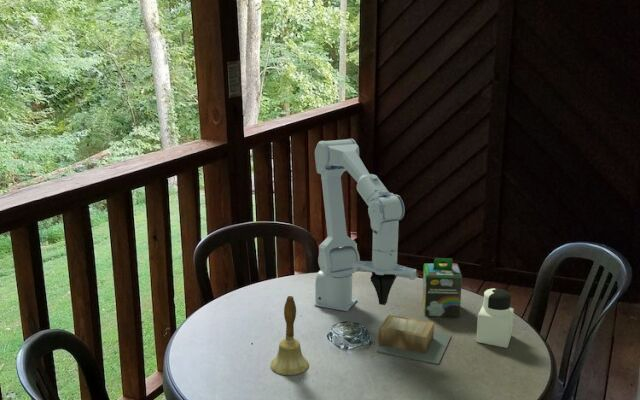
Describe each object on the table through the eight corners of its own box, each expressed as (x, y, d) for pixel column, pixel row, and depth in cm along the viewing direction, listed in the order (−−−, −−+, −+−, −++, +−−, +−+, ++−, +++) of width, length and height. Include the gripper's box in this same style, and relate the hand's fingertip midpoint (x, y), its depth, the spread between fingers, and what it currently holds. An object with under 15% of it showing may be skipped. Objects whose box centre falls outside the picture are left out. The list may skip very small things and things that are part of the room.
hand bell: (301, 353, 132) (301, 287, 128) (314, 371, 125) (314, 301, 121) (266, 359, 129) (264, 292, 126) (276, 378, 122) (275, 307, 118)
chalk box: (456, 303, 159) (459, 251, 155) (460, 318, 150) (464, 263, 146) (421, 302, 159) (423, 250, 156) (423, 316, 151) (426, 262, 147)
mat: (376, 352, 133) (376, 350, 133) (394, 326, 145) (394, 325, 145) (438, 364, 127) (438, 363, 127) (451, 336, 140) (451, 335, 140)
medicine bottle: (511, 335, 141) (515, 288, 138) (507, 348, 134) (511, 300, 131) (481, 329, 144) (484, 283, 141) (475, 342, 137) (479, 294, 134)
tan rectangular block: (378, 328, 135) (426, 337, 130) (388, 314, 142) (434, 322, 138) (378, 344, 136) (425, 353, 131) (388, 329, 143) (433, 338, 139)
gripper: (348, 249, 133) (348, 304, 136) (411, 257, 128) (409, 315, 131) (359, 240, 139) (358, 293, 143) (419, 248, 134) (416, 303, 137)
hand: (383, 303), depth 137 cm, fingers closed
